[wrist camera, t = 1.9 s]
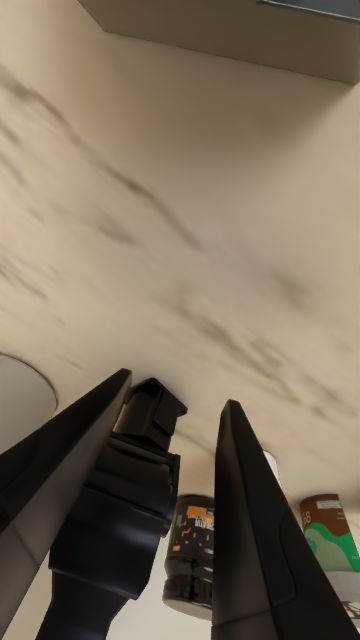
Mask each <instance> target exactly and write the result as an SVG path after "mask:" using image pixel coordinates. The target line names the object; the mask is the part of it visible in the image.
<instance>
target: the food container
mask: <svg viewBox="0 0 360 640" xmlns="http://www.w3.org/2000/svg"><path fill="white" fill-rule="evenodd" d="M300 511H301V518H302V525H303V532H304V536H305V538H306V540H307V542H308V544H309V545H310V547H311V549H312V551H313V553H314V554H315V556H316V558H317V560H318V562H319V564H320V565H321V567H322V569H323V571H324V572H325V574H326V576H327V578H328V579H329V581H330V583H331V585H332V586H333V588H334V590H335V592H336V593H337V595H338V597H339V599H340V600H341V602H342V604H343V606H344V607H345V609H346V611H347V613H348V614H349V616H350V618H351V620H352V621H353V623H354V625H355V627H357V628H360V557H359V554H358V551H357V548H356V546H355V543H354V540H353V537H352V534H351V531H350V529H349V526H348V523H347V520H346V517H345V514H344V512H343V509H342V506H341V503H340V500H339V497H338V495H337V494H325V495H316V496H313V497H309V498H307V499H305V500H304V501H302V502H301V504H300Z"/></svg>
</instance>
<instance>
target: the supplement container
mask: <svg viewBox="0 0 360 640" xmlns="http://www.w3.org/2000/svg"><path fill="white" fill-rule="evenodd" d="M213 535H214V500H212V499H209V498H205V497H200V496H188V497H184V498H182V499H180V500H179V501H178V502H177V503H176V508H175V512H174V516H173V521H172V527H171V533H170V539H169V546H168V551H167V557H166V559H165V564H164V567H165V571H166V574H167V577H168V578H167V580H166V581H165V585H164V590H163V596H162V600H163V602H164V603H165V604H166V605H167V606H169V607H171V608H173V609H175V610H177V611H180V612H182V613H185V614H188V615H191V616H194V617H197V618H201V619H205V620H209V621H212V580H213Z"/></svg>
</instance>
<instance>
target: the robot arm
mask: <svg viewBox="0 0 360 640" xmlns="http://www.w3.org/2000/svg"><path fill="white" fill-rule="evenodd" d="M131 379H132V371H131V370H128V369H125V368H122V369H120V370H119V371H117V372H116V373H114V374H113V375H112V376H110V377H109V378H107V379H106V380H105V381H103V382H102V383H101V384H99V385H98V386H96V387H95V388H94V389H92V390H91V391H89V392H88V393H87V394H85V395H84V396H83V397H81V398H80V399H78V400H77V401H76V402H74V403H73V404H71V405H70V406H69V407H67V408H66V409H64V410H63V411H62V412H60V413H59V414H58V415H56V416H55V417H53V418H52V419H51V420H49V421H48V422H46V423H45V424H44V425H42V426H41V427H40V428H38V429H37V430H35V431H34V432H32V433H31V434H30V435H28V436H27V437H25V438H24V439H23V440H21V441H20V442H18V443H17V444H15V445H14V446H12V447H11V448H9V449H8V450H6V451H5V452H3V453H2V454H0V640H2V638H3V636H4V634H5V632H6V630H7V628H8V626H9V624H10V623H11V621H12V619H13V617H14V615H15V613H16V611H17V610H18V607H19V606H20V604H21V602H22V600H23V598H24V596H25V595H26V593H27V591H28V588H29V587H30V585H31V583H32V581H33V579H34V577H35V576H36V574H37V572H38V570H39V568H40V566H41V564H42V562H43V561H44V559H45V557H46V555H47V553H48V551H49V549H50V554H49V564H48V567H49V569H51V570H52V599H51V603H50V605H49V608H48V610H47V612H46V615H45V617H44V620H43V622H42V624H41V627H40V629H39V632H38V634H37V637H36V639H35V640H106V636H107V633H108V630H109V627H110V624H111V621H112V620H113V619H114V617H115V616H116V615H117V614H118V612H119V611H120V610H121V608H122V607H123V606H124V605H125V604H126V602H127V601H128V600H129V599H133V600H137V599H138V598H139V596H140V595H141V593H142V592H143V590H144V589H145V587H146V585H147V584H148V582H149V578H150V574H151V569H152V566H153V562H154V559H155V555H156V552H157V548H158V545H159V541H160V537H162V538H165V537H166V535H167V533H168V531H169V529H170V526H171V523H172V520H173V516H174V512H175V508H176V502H177V495H178V482H179V470H180V457H181V456H180V455H178V454H172V453H170V452H168V450H169V445H170V441H171V437H172V436H173V435H174V431H175V426H176V422H177V417H180V416H182V415H185V414H187V410H188V409H187V408H186V407H185V406H184V405H183V404H182V403H181V402H180V401H179V400H178V399H177V398H176V397H175V396H174V395H173V394H172V393H170V392H169V391H168V390H167V389H166V388H165V387H164V386H163V385H162V384H161V383H160V382H159V381H158V380H157V379H155V378H149V379H147V380H145V381H144V382H142V383H140V384H138V385H136V386H134V387H132V388H130V386H131ZM124 404H125V405H126V407H125V409H124V411H123V414H122V416H121V418H120V420H119V422H118V424H117V427H116V429H115V431H113V429H114V427H115V424H116V422H117V420H118V417H119V415H120V412H121V410H122V407H123V405H124ZM212 625H213V626H212V628H211V640H360V634H359V632H358V630H357V628H356V627H355V625H354V623H353V621H352V620H351V618H350V616H349V614H348V613H347V611H346V609H345V607H344V606H343V604H342V602H341V600H340V599H339V597H338V595H337V593H336V592H335V590H334V588H333V586H332V585H331V583H330V581H329V579H328V578H327V576H326V574H325V572H324V571H323V569H322V567H321V565H320V564H319V562H318V560H317V558H316V556H315V554H314V553H313V551H312V549H311V547H310V545H309V544H308V542H307V540H306V538H305V536H304V534H303V532H302V530H301V528H300V526H299V524H298V522H297V520H296V518H295V516H294V514H293V512H292V510H291V508H290V506H288V502H287V499H286V497H285V495H284V493H283V491H282V489H281V487H280V485H279V483H278V481H277V479H276V477H275V475H274V473H273V471H272V469H271V466H270V464H269V462H268V460H267V458H266V456H265V454H264V452H263V450H262V448H261V446H260V444H259V442H258V440H257V438H256V436H255V433H254V431H253V429H252V427H251V425H250V423H249V421H248V419H247V417H246V415H245V413H244V411H243V409H242V407H241V405H240V403H239V402H238V401H235V400H231V399H229V400H228V401H227V402H226V404H225V406H224V408H223V410H222V413H221V417H220V425H219V432H218V440H217V447H216V456H215V489H214V535H213V580H212Z"/></svg>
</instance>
